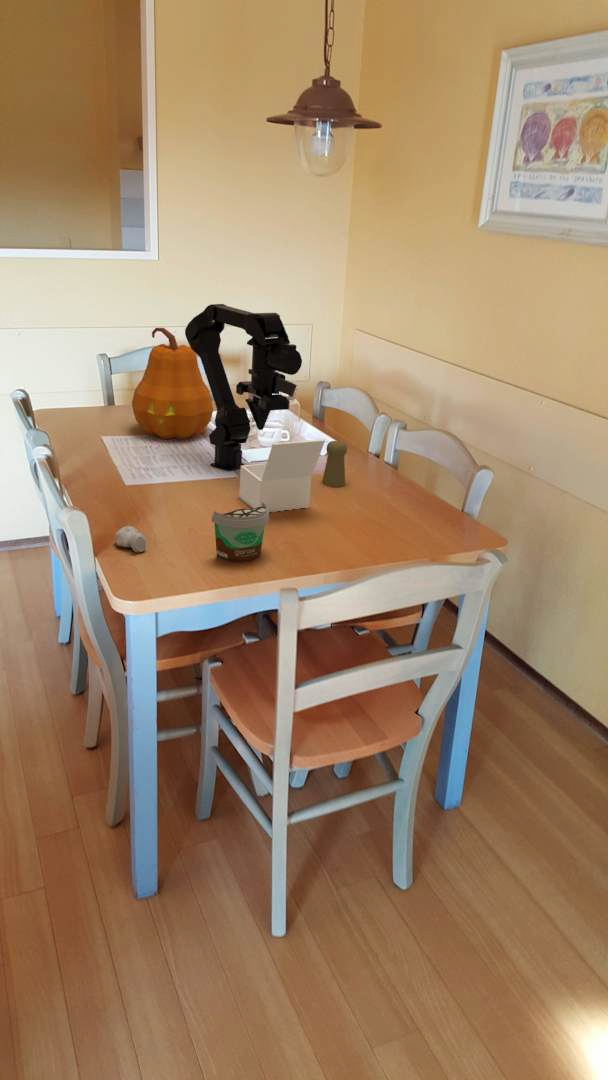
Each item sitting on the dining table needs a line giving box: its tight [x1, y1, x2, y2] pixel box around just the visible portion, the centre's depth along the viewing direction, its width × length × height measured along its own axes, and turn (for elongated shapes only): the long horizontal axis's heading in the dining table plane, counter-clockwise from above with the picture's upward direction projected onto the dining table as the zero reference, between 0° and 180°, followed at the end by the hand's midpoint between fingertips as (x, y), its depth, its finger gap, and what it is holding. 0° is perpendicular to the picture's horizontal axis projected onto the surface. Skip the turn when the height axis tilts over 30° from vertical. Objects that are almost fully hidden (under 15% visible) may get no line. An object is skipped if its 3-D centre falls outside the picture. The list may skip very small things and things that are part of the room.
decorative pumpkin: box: [131, 327, 214, 440], centre depth 234 cm, size 24×24×30 cm
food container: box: [210, 502, 270, 564], centre depth 161 cm, size 12×6×10 cm, turn 126°
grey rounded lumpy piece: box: [115, 525, 147, 553], centre depth 163 cm, size 4×8×5 cm
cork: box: [321, 440, 348, 488], centre depth 206 cm, size 6×6×11 cm
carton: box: [238, 462, 313, 514], centre depth 191 cm, size 11×13×8 cm
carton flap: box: [262, 439, 326, 481], centre depth 181 cm, size 11×13×1 cm
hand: (260, 429), depth 202 cm, fingers closed
